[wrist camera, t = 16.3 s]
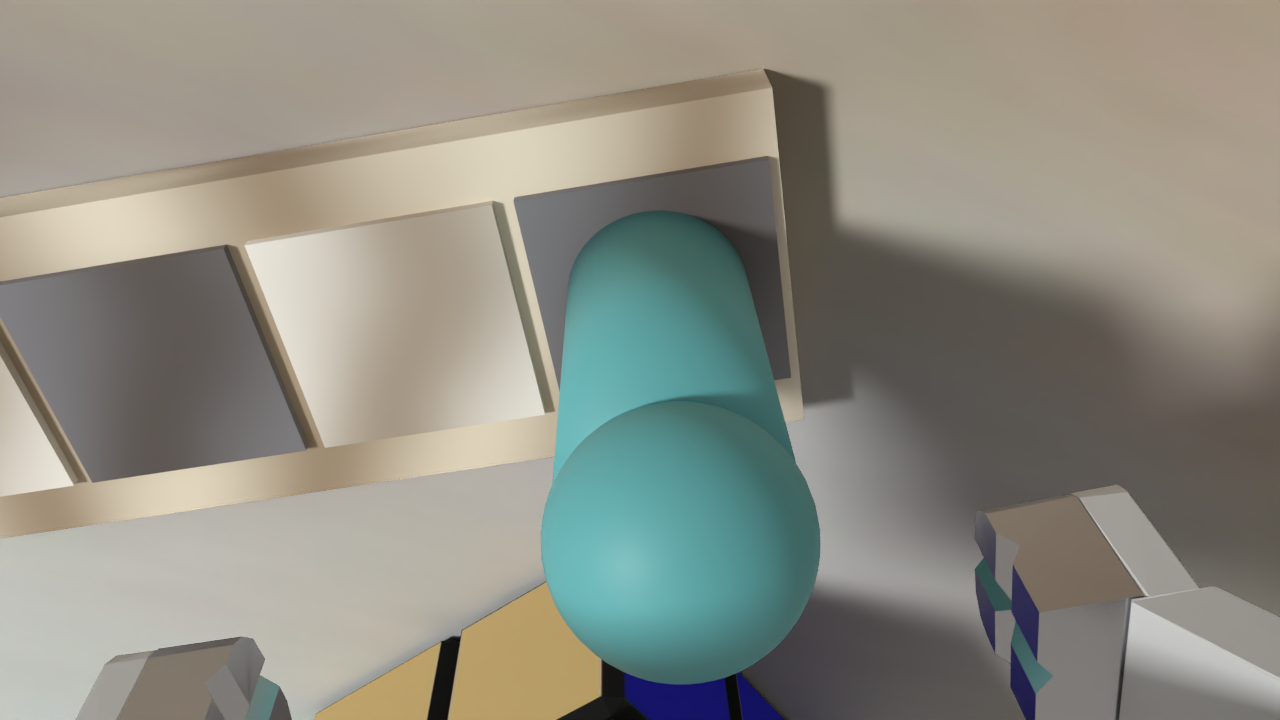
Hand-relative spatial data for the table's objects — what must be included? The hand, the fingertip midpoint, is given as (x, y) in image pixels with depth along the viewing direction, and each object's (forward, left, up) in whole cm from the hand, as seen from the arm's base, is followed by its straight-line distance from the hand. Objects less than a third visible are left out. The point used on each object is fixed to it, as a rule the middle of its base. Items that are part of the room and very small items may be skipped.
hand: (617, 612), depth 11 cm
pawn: (+1, -1, -9) cm, 9 cm away
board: (-7, -1, -10) cm, 12 cm away
